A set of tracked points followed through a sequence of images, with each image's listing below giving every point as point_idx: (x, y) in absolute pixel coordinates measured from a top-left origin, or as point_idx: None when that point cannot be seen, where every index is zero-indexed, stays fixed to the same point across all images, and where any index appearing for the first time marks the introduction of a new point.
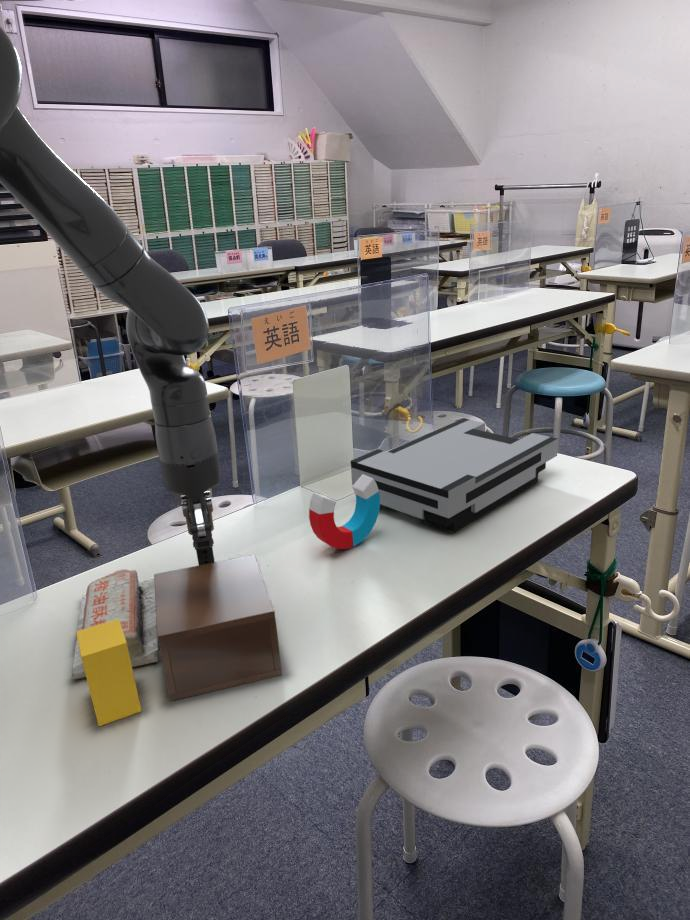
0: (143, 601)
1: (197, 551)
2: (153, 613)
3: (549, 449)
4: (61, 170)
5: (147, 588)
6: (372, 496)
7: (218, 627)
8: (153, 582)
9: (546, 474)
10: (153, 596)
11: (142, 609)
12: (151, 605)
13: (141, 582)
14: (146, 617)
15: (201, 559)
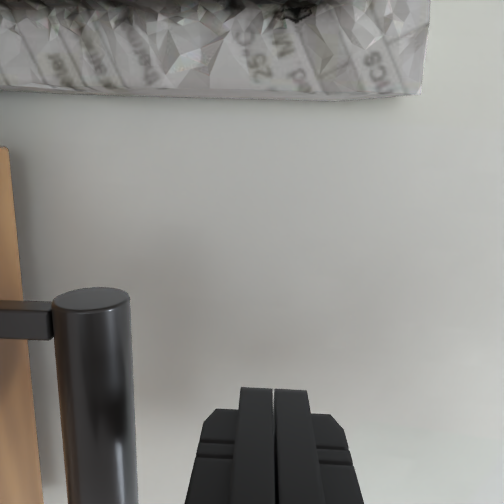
0: (186, 17)
1: (230, 485)
2: (43, 71)
3: None
4: None
5: (324, 47)
6: None
7: None
8: (376, 87)
9: None
10: (215, 79)
11: (106, 9)
12: (128, 64)
13: (419, 11)
14: (12, 29)
15: (195, 460)
